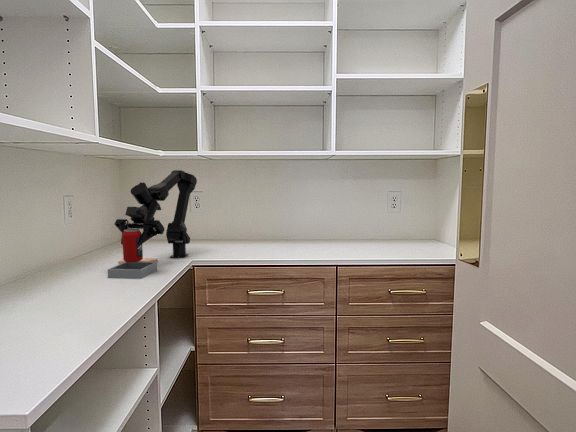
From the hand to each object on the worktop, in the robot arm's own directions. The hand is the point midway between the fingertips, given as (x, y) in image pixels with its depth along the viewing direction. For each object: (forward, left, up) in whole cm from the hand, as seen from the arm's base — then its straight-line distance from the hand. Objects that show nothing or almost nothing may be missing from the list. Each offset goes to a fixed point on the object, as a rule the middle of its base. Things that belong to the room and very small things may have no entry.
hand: (130, 244), depth 137 cm
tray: (-1, 0, -11) cm, 11 cm away
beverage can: (-1, 0, -7) cm, 7 cm away
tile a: (-19, -12, -11) cm, 25 cm away
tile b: (-20, -4, -11) cm, 23 cm away
